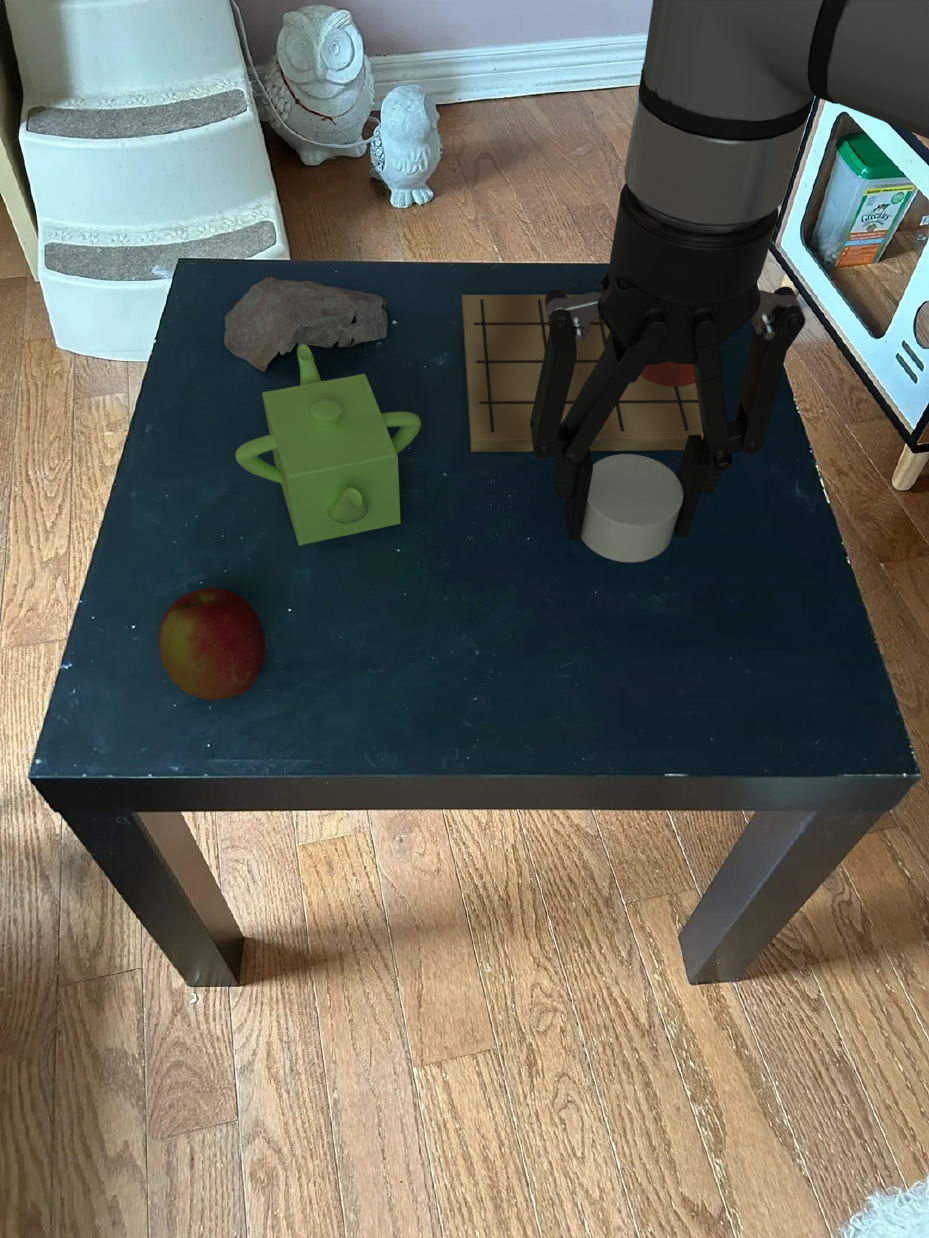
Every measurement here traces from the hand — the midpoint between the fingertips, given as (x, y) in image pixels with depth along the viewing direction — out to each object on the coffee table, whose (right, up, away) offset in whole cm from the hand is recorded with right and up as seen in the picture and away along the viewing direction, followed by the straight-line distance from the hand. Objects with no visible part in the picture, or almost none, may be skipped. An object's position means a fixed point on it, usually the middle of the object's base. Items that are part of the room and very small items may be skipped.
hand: (625, 523), depth 64 cm
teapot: (-22, +4, +21) cm, 30 cm away
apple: (-29, -11, +10) cm, 33 cm away
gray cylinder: (0, 0, 0) cm, 0 cm away
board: (+2, +18, +32) cm, 37 cm away
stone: (-27, +21, +34) cm, 48 cm away
